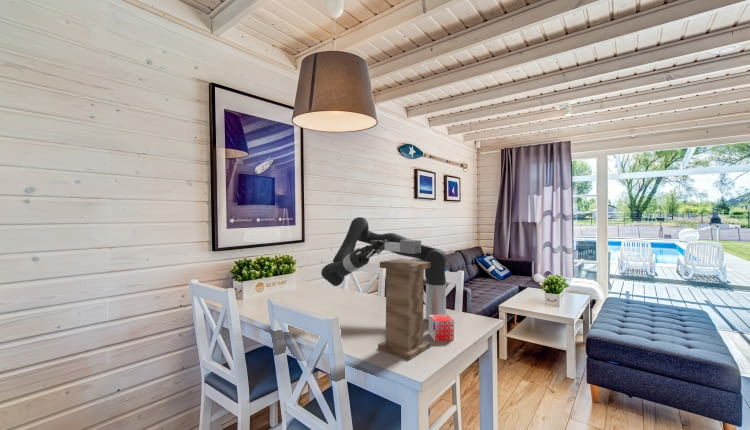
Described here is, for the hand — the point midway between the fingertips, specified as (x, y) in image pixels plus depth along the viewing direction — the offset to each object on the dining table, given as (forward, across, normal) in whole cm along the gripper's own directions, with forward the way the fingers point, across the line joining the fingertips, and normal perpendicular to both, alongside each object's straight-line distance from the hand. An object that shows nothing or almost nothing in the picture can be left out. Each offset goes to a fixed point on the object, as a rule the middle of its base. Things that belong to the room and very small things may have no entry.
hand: (383, 242), depth 126 cm
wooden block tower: (-11, 0, +38) cm, 40 cm away
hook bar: (+3, 0, +5) cm, 6 cm away
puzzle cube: (-6, +19, +42) cm, 46 cm away
